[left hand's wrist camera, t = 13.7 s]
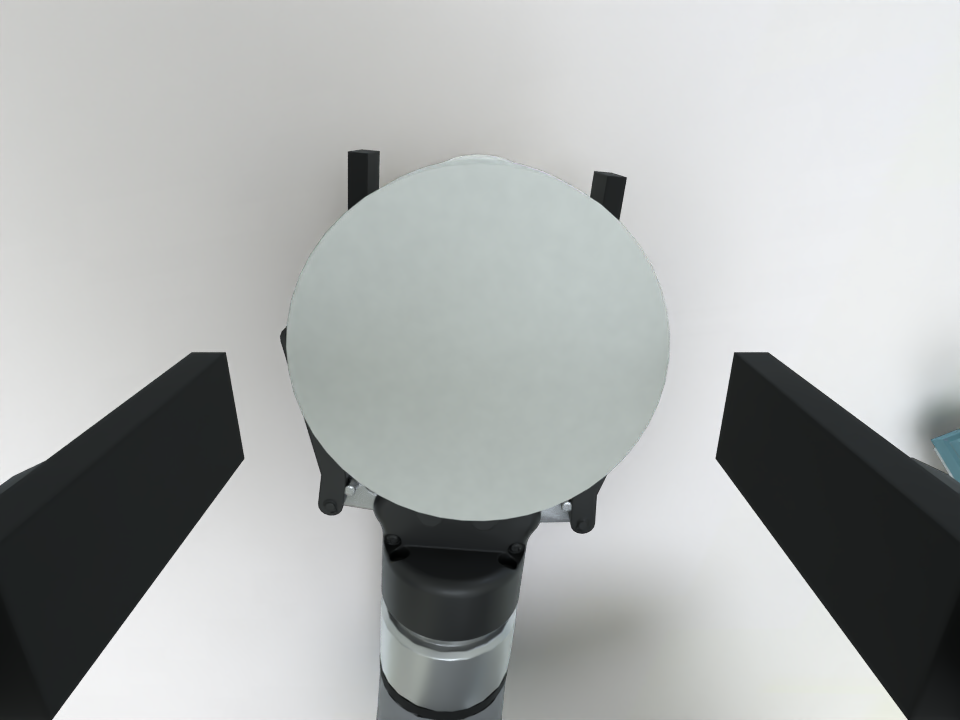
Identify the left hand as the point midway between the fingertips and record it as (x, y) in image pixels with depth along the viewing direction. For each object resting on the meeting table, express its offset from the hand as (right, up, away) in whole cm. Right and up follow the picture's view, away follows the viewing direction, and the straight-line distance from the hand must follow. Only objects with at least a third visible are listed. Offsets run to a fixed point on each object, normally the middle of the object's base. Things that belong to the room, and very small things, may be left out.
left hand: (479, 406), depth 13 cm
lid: (0, +1, +2) cm, 2 cm away
